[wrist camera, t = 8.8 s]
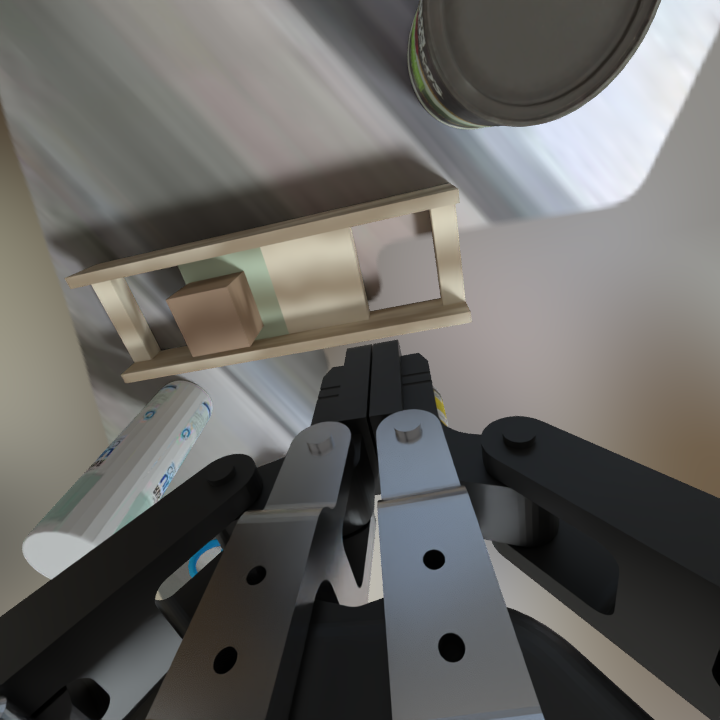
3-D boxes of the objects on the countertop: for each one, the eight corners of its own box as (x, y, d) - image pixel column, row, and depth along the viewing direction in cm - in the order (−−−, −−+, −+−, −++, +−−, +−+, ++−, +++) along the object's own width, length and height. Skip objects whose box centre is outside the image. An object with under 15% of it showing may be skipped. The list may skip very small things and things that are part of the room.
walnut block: (188, 283, 37) (165, 299, 33) (243, 271, 37) (226, 286, 33) (211, 335, 40) (192, 357, 36) (263, 325, 39) (250, 346, 35)
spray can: (171, 368, 44) (32, 517, 27) (224, 398, 46) (125, 557, 28) (150, 407, 47) (11, 565, 30) (200, 433, 49) (97, 599, 31)
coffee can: (408, 136, 32) (422, 135, 20) (405, -36, 28) (422, -177, 15) (540, 125, 32) (639, 116, 19) (561, -54, 27) (713, -219, 14)
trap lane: (96, 264, 39) (64, 278, 35) (449, 183, 34) (458, 188, 30) (148, 361, 44) (125, 383, 40) (462, 303, 39) (471, 322, 35)
